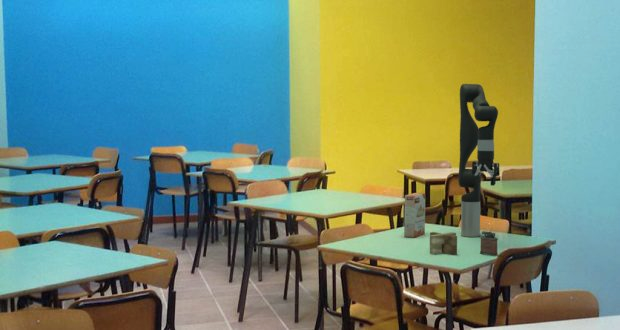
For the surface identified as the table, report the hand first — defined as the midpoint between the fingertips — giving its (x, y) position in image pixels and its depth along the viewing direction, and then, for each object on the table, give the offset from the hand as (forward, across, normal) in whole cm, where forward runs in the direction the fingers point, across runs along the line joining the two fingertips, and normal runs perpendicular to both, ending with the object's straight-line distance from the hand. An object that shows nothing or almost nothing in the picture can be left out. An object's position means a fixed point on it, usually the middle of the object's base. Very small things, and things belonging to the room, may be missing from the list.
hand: (485, 184), depth 349 cm
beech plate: (+28, -1, -27) cm, 39 cm away
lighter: (+28, +15, -16) cm, 36 cm away
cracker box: (+28, -38, -7) cm, 48 cm away
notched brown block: (+28, -1, -27) cm, 39 cm away
